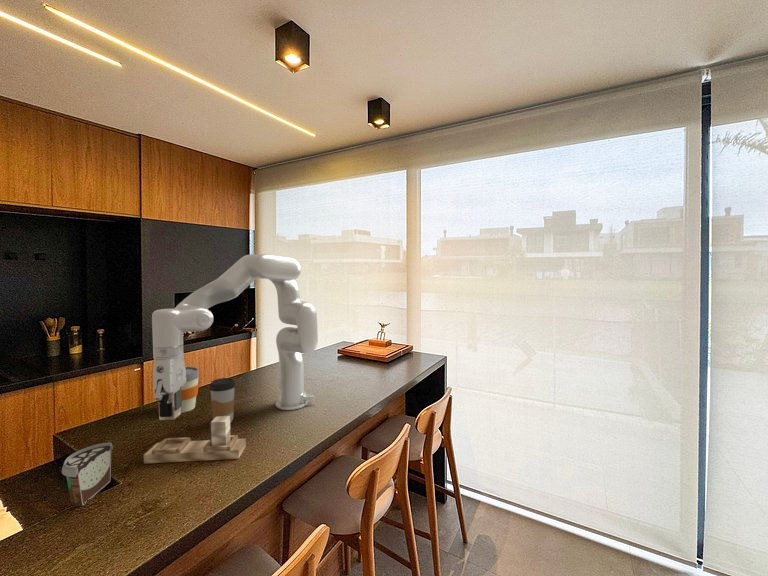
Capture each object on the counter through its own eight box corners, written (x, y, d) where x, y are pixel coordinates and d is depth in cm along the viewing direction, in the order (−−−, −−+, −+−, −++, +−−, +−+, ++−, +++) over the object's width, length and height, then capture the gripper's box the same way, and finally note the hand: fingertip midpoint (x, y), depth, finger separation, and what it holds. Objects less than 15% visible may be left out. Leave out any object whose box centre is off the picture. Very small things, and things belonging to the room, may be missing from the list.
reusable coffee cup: (183, 416, 130) (182, 377, 129) (155, 413, 132) (153, 375, 131) (207, 403, 142) (206, 367, 141) (180, 401, 144) (179, 365, 144)
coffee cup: (241, 418, 128) (240, 378, 127) (223, 428, 120) (222, 386, 119) (223, 415, 131) (222, 376, 130) (205, 425, 123) (203, 383, 122)
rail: (245, 446, 108) (245, 413, 108) (238, 458, 101) (237, 423, 101) (157, 450, 106) (156, 416, 105) (143, 463, 99) (142, 427, 98)
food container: (89, 479, 91) (87, 442, 91) (114, 478, 92) (112, 441, 91) (48, 512, 79) (46, 469, 79) (77, 510, 80) (75, 468, 79)
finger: (182, 413, 104) (182, 387, 104) (176, 419, 100) (175, 392, 100) (166, 414, 104) (165, 387, 103) (159, 420, 100) (158, 392, 99)
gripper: (167, 358, 93) (169, 425, 94) (194, 345, 110) (196, 401, 111) (137, 359, 92) (139, 426, 93) (169, 345, 109) (171, 402, 110)
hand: (170, 412), depth 102 cm, fingers closed on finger, 4 cm apart
